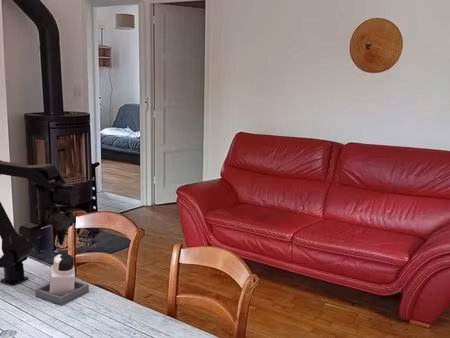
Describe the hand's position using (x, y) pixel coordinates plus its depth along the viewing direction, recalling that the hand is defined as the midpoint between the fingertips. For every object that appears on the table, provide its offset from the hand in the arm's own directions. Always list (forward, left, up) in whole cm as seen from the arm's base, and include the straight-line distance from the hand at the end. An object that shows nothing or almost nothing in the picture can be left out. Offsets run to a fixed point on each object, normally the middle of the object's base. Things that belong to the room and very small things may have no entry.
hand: (49, 249), depth 165 cm
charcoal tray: (+8, -3, -13) cm, 15 cm away
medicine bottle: (+8, -3, -12) cm, 14 cm away
